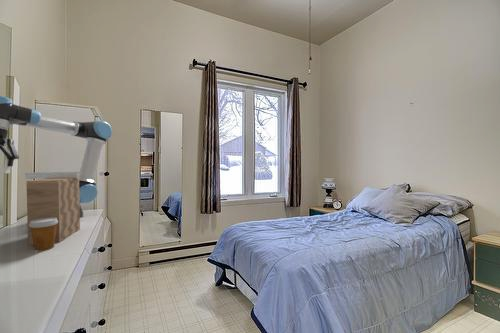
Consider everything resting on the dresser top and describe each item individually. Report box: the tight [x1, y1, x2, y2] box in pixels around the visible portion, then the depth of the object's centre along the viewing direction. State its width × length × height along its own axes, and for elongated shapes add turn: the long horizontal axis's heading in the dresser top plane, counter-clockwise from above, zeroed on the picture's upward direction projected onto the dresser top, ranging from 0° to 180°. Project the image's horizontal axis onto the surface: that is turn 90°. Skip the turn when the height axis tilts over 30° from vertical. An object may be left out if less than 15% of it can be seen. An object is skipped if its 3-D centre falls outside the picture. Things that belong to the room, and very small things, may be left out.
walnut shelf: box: [26, 178, 81, 246], centre depth 120 cm, size 22×12×28 cm, turn 14°
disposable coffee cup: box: [29, 218, 58, 252], centre depth 104 cm, size 10×10×12 cm
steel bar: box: [24, 171, 80, 180], centre depth 125 cm, size 4×22×3 cm, turn 104°
